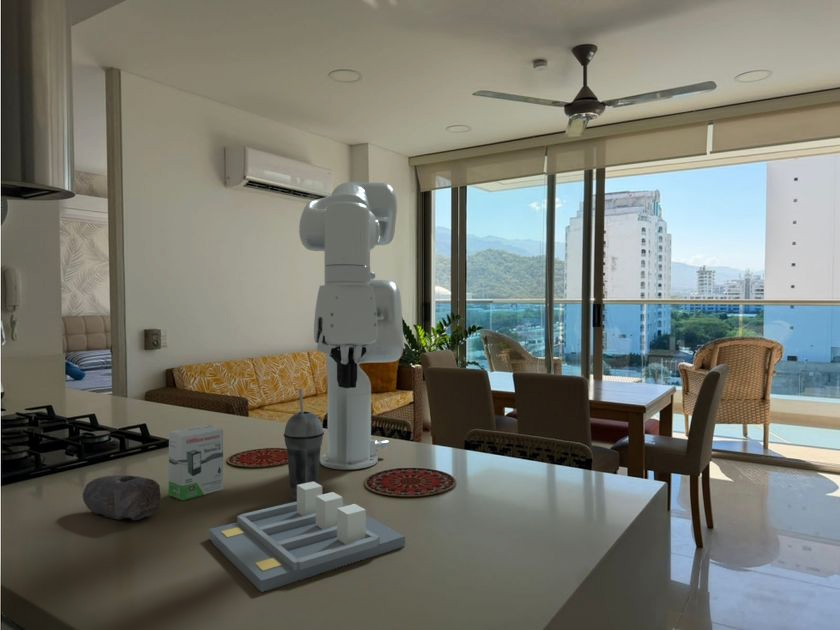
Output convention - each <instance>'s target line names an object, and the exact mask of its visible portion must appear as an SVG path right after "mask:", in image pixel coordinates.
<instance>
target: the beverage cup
mask: <svg viewBox="0 0 840 630" xmlns="http://www.w3.org/2000/svg"><path fill="white" fill-rule="evenodd" d="M298 393H299V394H298V395H299V408H300V411H299V412H296V413H295V414H293V415H292V416H291V417H289V419H288V420H287V422H286V424H285V428H284V433H283V437H284V444H285V447H286V453H287V454H286V455H287V467H288V477H289V489H290V495H291V499H292V500H295V501H297V485H299V484H304V483H309V482H313V481H314V482H315V483H317V484H319V475H320V473H319V472H320V463H321V450H322V448H321V447H322V445H323V438H324V435H325V433H324V432H325V431H324V428H323V427H324V426H323V423H322V422H321V420H320V418H319V417H318V416H317V415H316V414H314V413H313V412H311V411H304V403H303V388H299V390H298Z"/></svg>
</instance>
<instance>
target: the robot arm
mask: <svg viewBox="0 0 840 630" xmlns="http://www.w3.org/2000/svg"><path fill="white" fill-rule="evenodd" d="M397 213H398V199H397V196H396V192H395V190H394V189H393V187H392V186H391V185H390V184H388V183H384V182H368V181H367V182H364V181H363V182H362V181H358V182H357V181H351V182H350V181H349V182H347V181H346V182H342V183H340V184H338V185H337V186H336V187H335V188H334V189H333V191H332V192H331V195H329V196H326V197H322V198H317V199H314V200H311V201H309V202H307V204H305V206H304V208H303V209H302V213H301V215H300V220H299V227H298V228H299V230H298V233H299V239H300V241H301V244H302V245H303V246H304V248H305V249H306V250H309V251H312V252H313V251H314V252H324V285H319V288H318V292H317V297H316V303H315V309H314V310H315V311H314V325H313V340H314V342H315V343H316V344H317V346H316V351H317V352H318V353H321V354H324V355H325V361H326V371H327V372H326V373H327V374H326V376H327V377H326V378H327V452H326V453H324V454H322V455H321V456H320V464H321V465H322V467H325V468H328V469H332V470H343V471H344V470H345V471H346V470H347V471H349V470H350V471H351V470H359V469H365V468H369V467H372V466H374V465H376V464H377V463H378V461H379V459H378V458H379V457H378V454H377V452H378V451H379V450H385V449H389V447H390V442H389V440H388V439H384V440H383V439H382V440H379V441H378V440H377V439H372V422H371V421H372V384H371V380H370V377H369V375H367V374H366V372H365V371H364V370H363V369H362V368H361V366H360V364H367V363H368V364H369V363H373V364H374V363H393V362H397V361H398V360H400V359H401V357H402V355H403V352H404V329H403V328H404V327H403V312H402V309H403V307H402V297H401V290H400V289H399V287H398V285H397V284H396V283H395V282H394V281H392V280H388V279H375V278H376V273H375V272H374V271H371V267H370V266H371V263H370V262H371V260H370V259H371V257H370V256H371V255H370V253H371V252H370V251H371V250H373V249H374V248H376V246H385V245H389V244H390V243H392V241H393V240H394V237H395V232H396V222H397V215H398V214H397Z"/></svg>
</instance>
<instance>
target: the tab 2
mask: <svg viewBox="0 0 840 630" xmlns="http://www.w3.org/2000/svg"><path fill="white" fill-rule="evenodd" d="M343 500H344V499H343V496H341V495H340V494H337V493H335V492H334V491H332V492H328V493H327V492H326V493H322V495H318V496H316V525H317V526H318V527H320V528H321V529H326V528H330V527H333V526H337V508H340V507H343V502H344V501H343Z"/></svg>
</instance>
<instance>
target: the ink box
mask: <svg viewBox="0 0 840 630" xmlns="http://www.w3.org/2000/svg"><path fill="white" fill-rule="evenodd" d="M168 433H169V434H168V496H170V497H172V498H175V499H177V500H180V501H186V500H190V499H194V498H197V497H201V496H205V495H208V494H211V493H212V494H213V493H216V492H219V491H222V490H224V429H223V428H221V427H218V426H214V425H202V426H201V425H200V426H195V427H188V428H184V429H176V430H172V431H171V432H168Z"/></svg>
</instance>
